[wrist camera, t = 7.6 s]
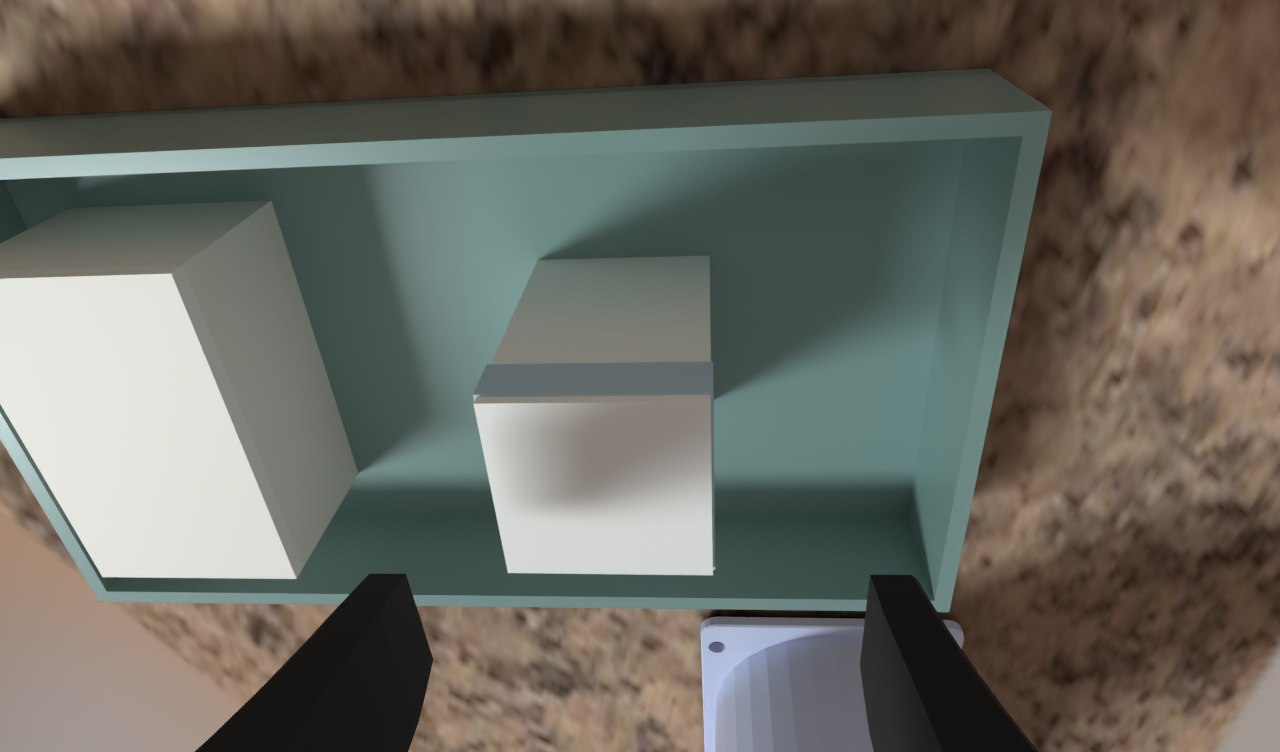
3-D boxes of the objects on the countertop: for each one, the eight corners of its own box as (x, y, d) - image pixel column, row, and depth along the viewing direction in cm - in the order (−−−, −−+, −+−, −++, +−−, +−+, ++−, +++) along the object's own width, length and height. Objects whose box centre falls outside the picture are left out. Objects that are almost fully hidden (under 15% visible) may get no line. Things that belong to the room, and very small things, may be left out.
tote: (917, 515, 22) (949, 612, 19) (172, 514, 24) (99, 601, 21) (988, 68, 16) (1052, 111, 13) (-23, 119, 18) (-166, 166, 15)
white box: (358, 473, 22) (296, 578, 19) (192, 474, 23) (102, 577, 19) (271, 200, 18) (171, 273, 15) (69, 208, 19) (-73, 281, 15)
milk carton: (713, 402, 20) (715, 577, 15) (555, 404, 21) (505, 574, 16) (711, 253, 18) (713, 399, 13) (535, 258, 18) (469, 400, 13)
